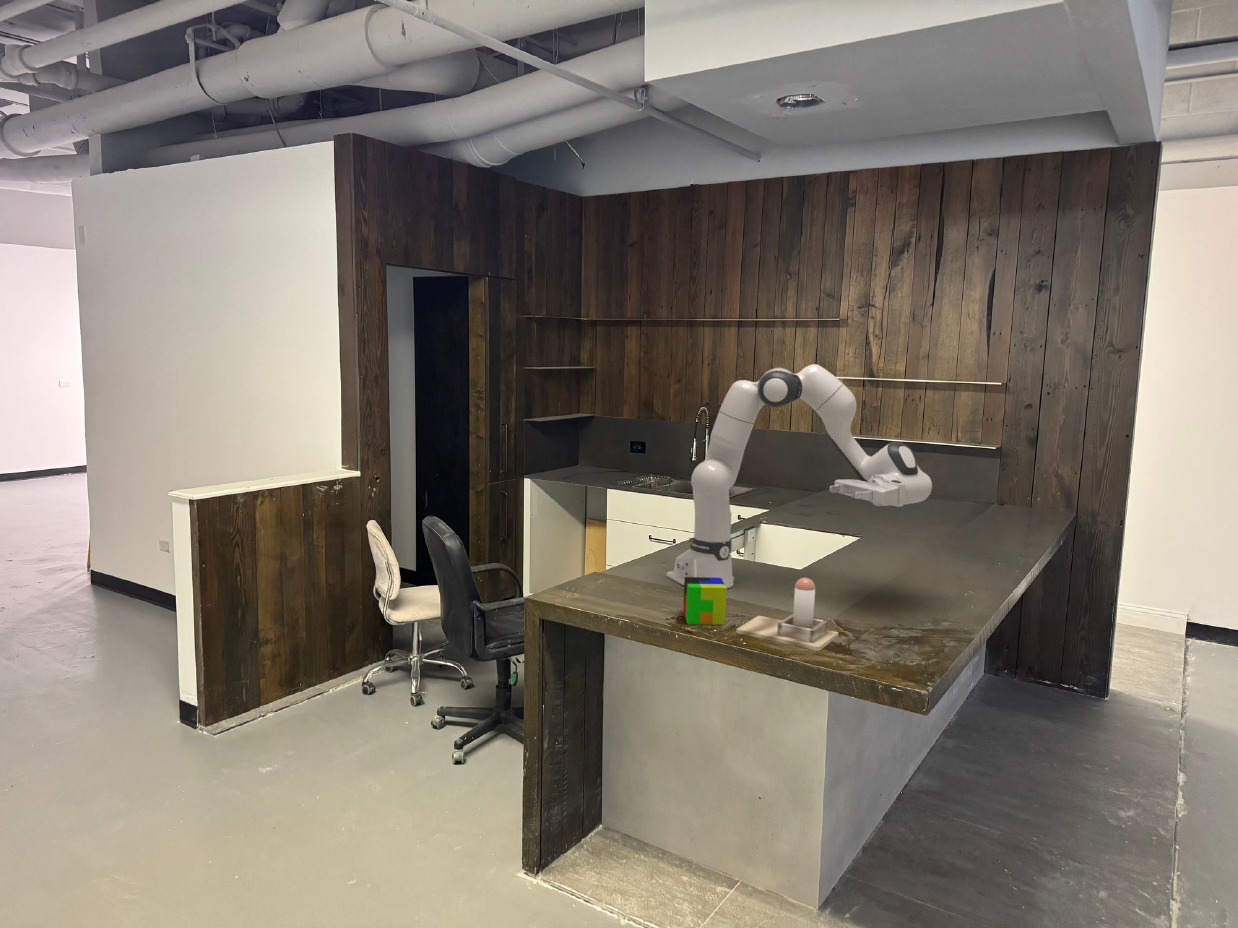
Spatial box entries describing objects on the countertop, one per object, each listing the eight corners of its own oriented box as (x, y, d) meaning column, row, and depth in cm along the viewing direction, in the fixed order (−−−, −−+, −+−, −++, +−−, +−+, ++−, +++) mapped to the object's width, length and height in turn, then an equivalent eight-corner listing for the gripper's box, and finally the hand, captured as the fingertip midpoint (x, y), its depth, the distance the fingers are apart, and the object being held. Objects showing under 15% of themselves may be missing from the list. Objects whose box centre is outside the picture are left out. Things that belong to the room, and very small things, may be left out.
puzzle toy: (719, 612, 235) (720, 577, 233) (725, 624, 225) (726, 587, 224) (683, 612, 234) (684, 576, 233) (687, 624, 225) (688, 587, 223)
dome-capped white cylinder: (788, 632, 217) (791, 576, 215) (801, 629, 220) (805, 574, 218) (802, 638, 213) (806, 581, 211) (816, 634, 215) (820, 579, 214)
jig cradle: (736, 632, 218) (736, 617, 218) (758, 619, 230) (759, 604, 230) (818, 651, 207) (819, 635, 206) (838, 635, 218) (839, 620, 218)
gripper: (857, 473, 248) (819, 475, 242) (908, 484, 229) (868, 486, 224) (856, 494, 249) (817, 497, 243) (907, 507, 230) (867, 510, 224)
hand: (842, 492), depth 233 cm, fingers open, 8 cm apart
